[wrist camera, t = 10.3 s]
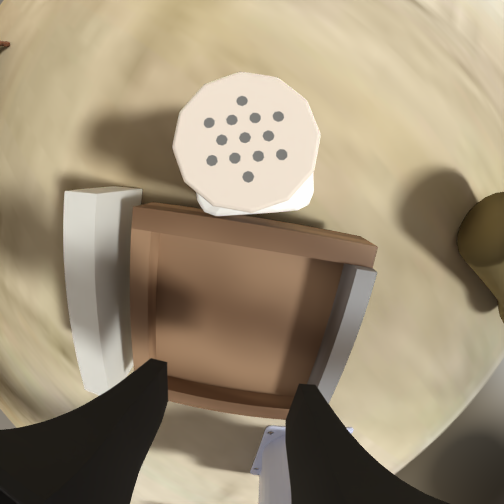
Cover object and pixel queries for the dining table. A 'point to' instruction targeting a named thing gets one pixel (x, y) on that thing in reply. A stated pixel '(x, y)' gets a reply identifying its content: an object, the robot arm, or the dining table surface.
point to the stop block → (99, 281)
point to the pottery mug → (4, 43)
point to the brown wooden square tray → (244, 306)
